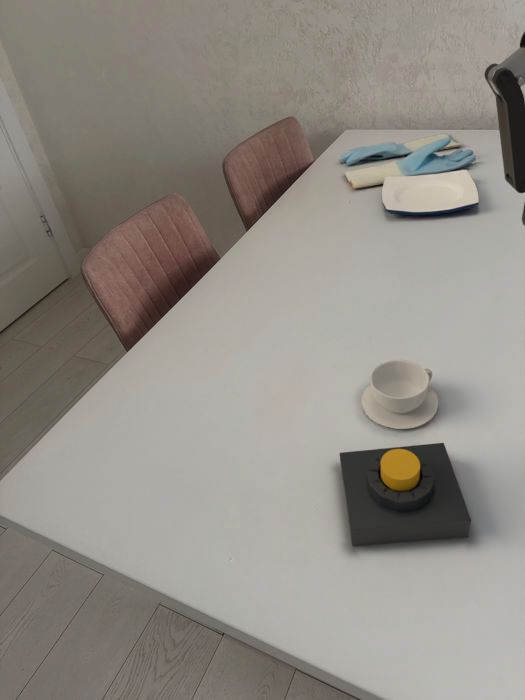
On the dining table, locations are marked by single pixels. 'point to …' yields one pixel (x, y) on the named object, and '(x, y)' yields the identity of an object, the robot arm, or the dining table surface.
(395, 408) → the teacup
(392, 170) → the rubber gloves
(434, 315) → the dining table surface
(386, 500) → the yellow button cap base
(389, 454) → the yellow button cap
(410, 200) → the plate
